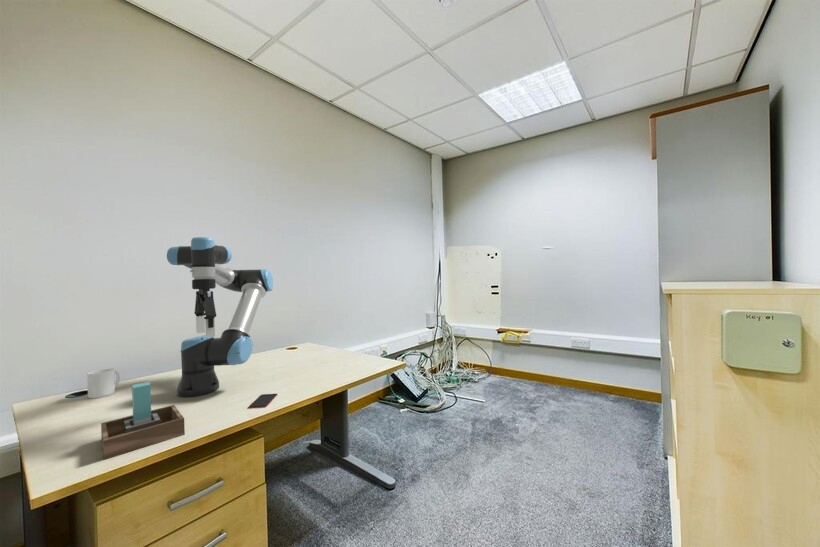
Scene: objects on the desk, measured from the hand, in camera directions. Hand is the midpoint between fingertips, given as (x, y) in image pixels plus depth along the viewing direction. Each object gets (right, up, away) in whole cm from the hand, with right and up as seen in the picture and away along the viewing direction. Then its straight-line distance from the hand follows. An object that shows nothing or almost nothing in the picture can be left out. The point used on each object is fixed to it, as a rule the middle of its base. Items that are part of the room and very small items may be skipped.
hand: (205, 334), depth 122 cm
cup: (-54, -29, +17) cm, 63 cm away
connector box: (-4, -27, -23) cm, 36 cm away
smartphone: (+21, -27, +3) cm, 34 cm away
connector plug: (-5, -25, -22) cm, 34 cm away
